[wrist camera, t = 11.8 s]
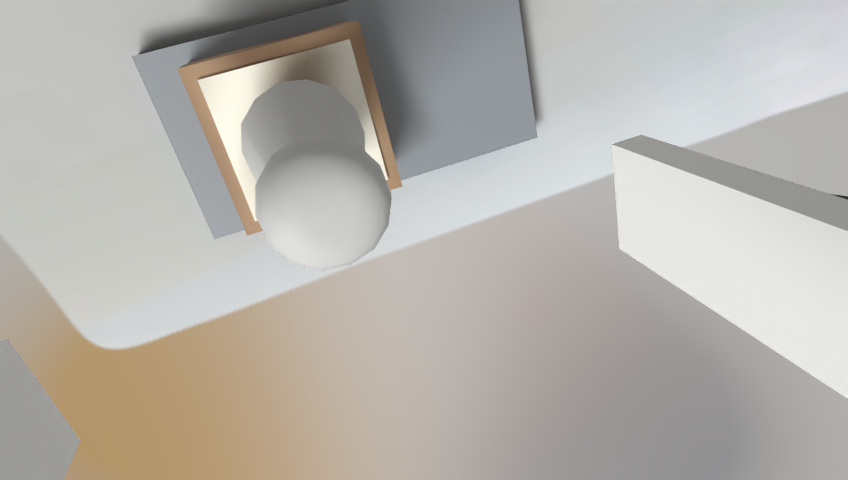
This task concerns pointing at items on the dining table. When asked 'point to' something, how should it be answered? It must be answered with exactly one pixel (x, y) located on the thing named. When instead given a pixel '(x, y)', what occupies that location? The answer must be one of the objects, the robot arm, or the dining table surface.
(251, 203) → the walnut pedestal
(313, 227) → the salt shaker
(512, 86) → the build plate
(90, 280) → the dining table surface
